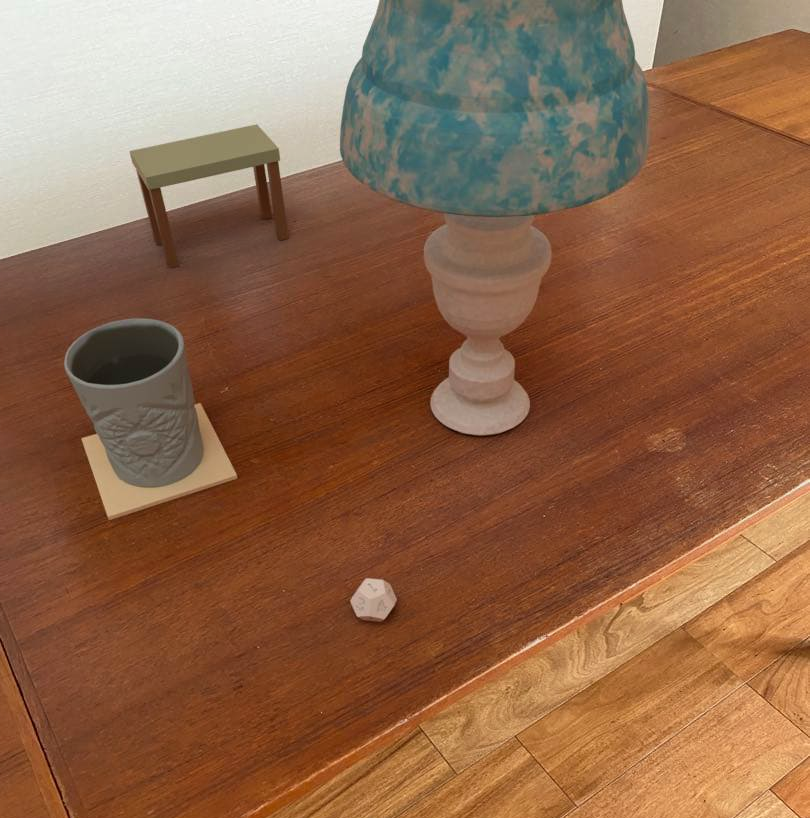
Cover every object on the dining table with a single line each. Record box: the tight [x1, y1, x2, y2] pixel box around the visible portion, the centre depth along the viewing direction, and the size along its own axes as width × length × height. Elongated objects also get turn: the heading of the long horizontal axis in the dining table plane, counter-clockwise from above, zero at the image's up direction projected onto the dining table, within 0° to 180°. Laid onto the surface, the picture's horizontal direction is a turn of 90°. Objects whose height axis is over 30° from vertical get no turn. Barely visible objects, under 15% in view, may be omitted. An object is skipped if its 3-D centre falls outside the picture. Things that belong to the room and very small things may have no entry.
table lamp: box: [339, 0, 651, 437], centre depth 72 cm, size 24×24×40 cm
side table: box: [129, 124, 289, 269], centre depth 107 cm, size 8×16×12 cm, turn 115°
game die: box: [349, 577, 398, 623], centre depth 68 cm, size 4×4×3 cm
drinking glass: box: [63, 317, 204, 488], centre depth 78 cm, size 10×10×12 cm
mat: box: [80, 402, 238, 521], centre depth 82 cm, size 12×12×1 cm
